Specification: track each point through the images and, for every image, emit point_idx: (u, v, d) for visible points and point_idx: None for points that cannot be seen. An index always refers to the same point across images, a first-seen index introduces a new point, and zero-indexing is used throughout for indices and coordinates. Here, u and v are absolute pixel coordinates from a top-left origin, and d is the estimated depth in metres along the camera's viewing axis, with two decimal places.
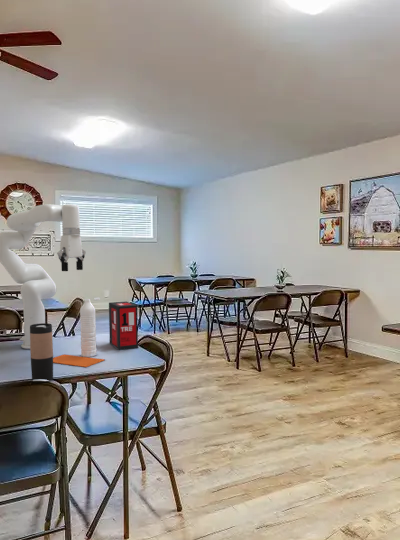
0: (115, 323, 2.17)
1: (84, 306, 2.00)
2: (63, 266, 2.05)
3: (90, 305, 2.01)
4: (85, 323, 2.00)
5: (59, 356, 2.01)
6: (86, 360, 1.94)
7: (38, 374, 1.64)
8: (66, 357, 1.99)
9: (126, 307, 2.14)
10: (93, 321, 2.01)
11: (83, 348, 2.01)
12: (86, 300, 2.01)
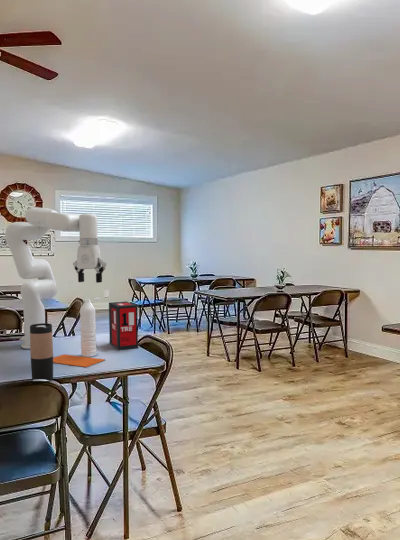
0: (115, 323, 2.17)
1: (84, 306, 2.00)
2: (101, 277, 2.00)
3: (90, 305, 2.01)
4: (85, 323, 2.00)
5: (59, 356, 2.01)
6: (86, 360, 1.94)
7: (38, 374, 1.64)
8: (66, 357, 1.99)
9: (126, 307, 2.14)
10: (93, 321, 2.01)
11: (83, 348, 2.01)
12: (86, 300, 2.01)
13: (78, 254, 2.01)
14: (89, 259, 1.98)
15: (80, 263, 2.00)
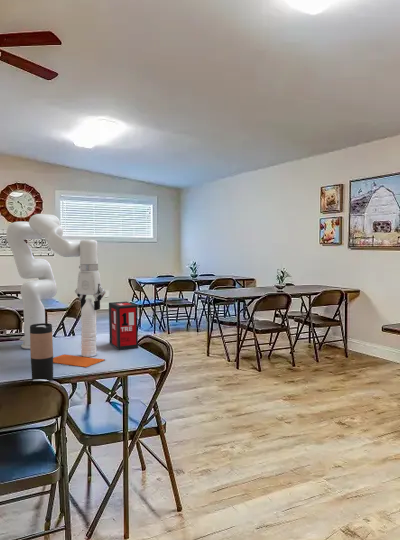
0: (115, 323, 2.17)
1: (85, 306, 2.00)
2: (99, 304, 2.01)
3: (91, 305, 2.01)
4: (86, 323, 2.00)
5: (59, 356, 2.01)
6: (86, 360, 1.94)
7: (38, 374, 1.64)
8: (66, 357, 1.99)
9: (126, 307, 2.14)
10: (94, 321, 2.01)
11: (83, 348, 2.01)
12: (87, 300, 2.01)
13: (78, 280, 2.02)
14: (89, 285, 1.99)
15: (80, 289, 2.01)
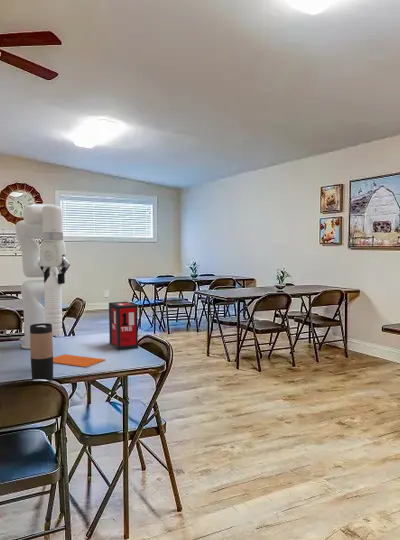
0: (115, 323, 2.17)
1: (49, 279, 1.80)
2: (63, 278, 1.81)
3: (56, 278, 1.81)
4: (50, 298, 1.80)
5: (59, 356, 2.01)
6: (86, 360, 1.94)
7: (38, 374, 1.64)
8: (66, 357, 1.99)
9: (126, 307, 2.14)
10: (59, 296, 1.81)
11: None
12: (51, 273, 1.81)
13: (41, 250, 1.82)
14: (53, 256, 1.79)
15: (43, 260, 1.81)
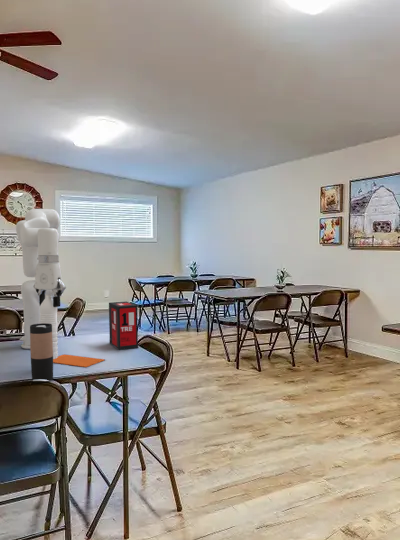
0: (115, 323, 2.17)
1: (44, 302, 1.78)
2: (59, 301, 1.79)
3: (51, 301, 1.79)
4: (45, 321, 1.78)
5: (59, 356, 2.01)
6: (86, 360, 1.94)
7: (38, 374, 1.64)
8: (66, 357, 1.99)
9: (126, 307, 2.14)
10: (54, 319, 1.79)
11: None
12: (47, 296, 1.79)
13: (36, 273, 1.80)
14: (48, 279, 1.77)
15: (38, 283, 1.79)
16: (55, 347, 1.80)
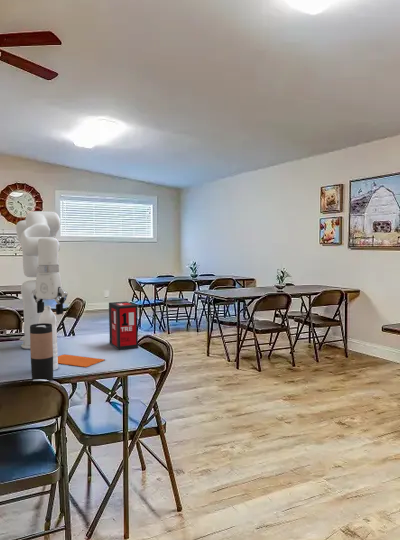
0: (115, 323, 2.17)
1: (43, 314, 1.79)
2: (61, 308, 1.79)
3: (50, 313, 1.79)
4: None
5: (59, 356, 2.01)
6: (86, 360, 1.94)
7: (38, 374, 1.64)
8: (66, 357, 1.99)
9: (126, 307, 2.14)
10: (54, 331, 1.80)
11: None
12: (46, 307, 1.80)
13: (37, 282, 1.80)
14: (48, 288, 1.77)
15: (39, 292, 1.80)
16: (55, 358, 1.81)
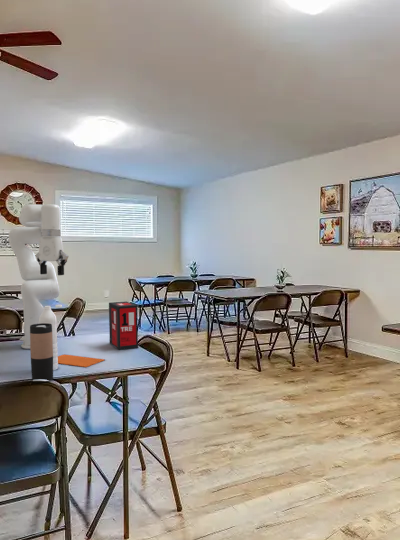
0: (115, 323, 2.17)
1: (43, 314, 1.79)
2: (62, 270, 1.95)
3: (50, 313, 1.79)
4: None
5: (59, 356, 2.01)
6: (86, 360, 1.94)
7: (38, 374, 1.64)
8: (66, 357, 1.99)
9: (126, 307, 2.14)
10: (54, 331, 1.80)
11: None
12: (46, 307, 1.80)
13: (40, 246, 1.96)
14: (51, 251, 1.93)
15: (42, 255, 1.95)
16: (55, 358, 1.81)
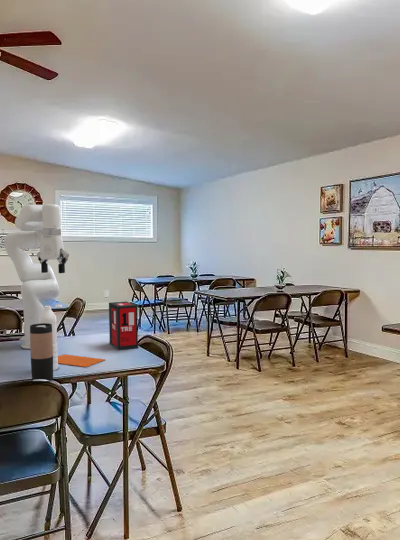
0: (115, 323, 2.17)
1: (43, 314, 1.79)
2: (63, 268, 1.99)
3: (50, 313, 1.79)
4: None
5: (59, 356, 2.01)
6: (86, 360, 1.94)
7: (38, 374, 1.64)
8: (66, 357, 1.99)
9: (126, 307, 2.14)
10: (54, 331, 1.80)
11: None
12: (46, 307, 1.80)
13: (41, 245, 2.00)
14: (51, 250, 1.98)
15: (43, 254, 2.00)
16: (55, 358, 1.81)
